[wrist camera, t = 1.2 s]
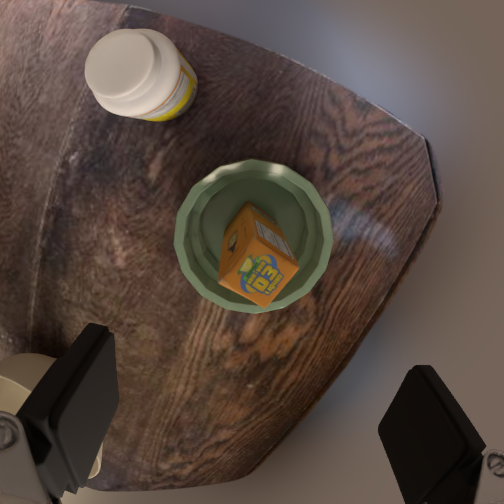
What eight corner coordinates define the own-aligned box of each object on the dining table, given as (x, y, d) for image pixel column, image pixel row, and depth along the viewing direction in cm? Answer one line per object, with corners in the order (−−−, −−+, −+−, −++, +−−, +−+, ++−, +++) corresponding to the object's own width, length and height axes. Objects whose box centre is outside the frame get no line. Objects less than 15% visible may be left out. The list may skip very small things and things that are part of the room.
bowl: (73, 430, 36) (49, 481, 26) (-3, 346, 31) (-43, 390, 22) (151, 407, 33) (131, 474, 24) (60, 300, 29) (8, 354, 19)
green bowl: (159, 210, 26) (143, 224, 22) (270, 131, 24) (275, 128, 20) (237, 309, 29) (236, 336, 25) (342, 241, 27) (359, 259, 23)
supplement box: (257, 254, 27) (263, 315, 17) (223, 230, 26) (210, 280, 17) (282, 222, 26) (302, 269, 17) (247, 197, 25) (248, 230, 16)
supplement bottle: (130, 66, 22) (70, 32, 12) (196, 52, 22) (166, 3, 12) (135, 128, 24) (74, 124, 14) (202, 117, 24) (173, 100, 14)
